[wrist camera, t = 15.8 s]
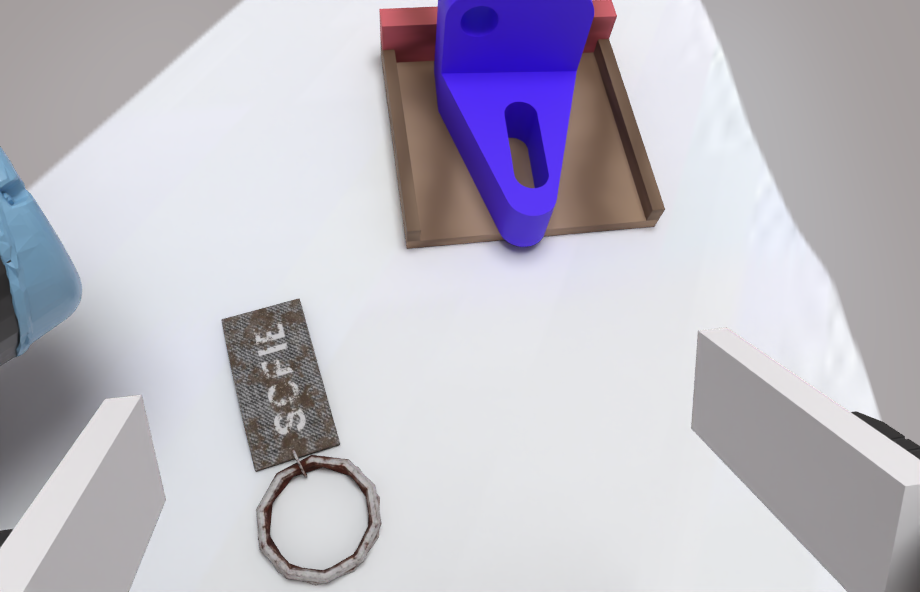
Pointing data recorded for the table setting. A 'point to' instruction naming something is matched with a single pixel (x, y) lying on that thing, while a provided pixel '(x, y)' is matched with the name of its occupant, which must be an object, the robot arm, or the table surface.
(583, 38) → the bracket
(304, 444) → the keychain
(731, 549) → the table surface
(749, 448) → the robot arm
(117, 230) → the table surface
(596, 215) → the walnut stop track
